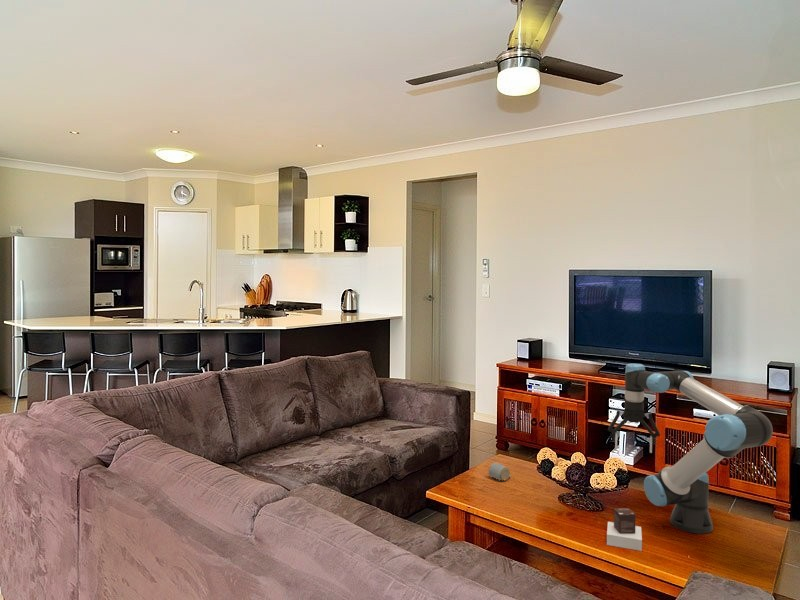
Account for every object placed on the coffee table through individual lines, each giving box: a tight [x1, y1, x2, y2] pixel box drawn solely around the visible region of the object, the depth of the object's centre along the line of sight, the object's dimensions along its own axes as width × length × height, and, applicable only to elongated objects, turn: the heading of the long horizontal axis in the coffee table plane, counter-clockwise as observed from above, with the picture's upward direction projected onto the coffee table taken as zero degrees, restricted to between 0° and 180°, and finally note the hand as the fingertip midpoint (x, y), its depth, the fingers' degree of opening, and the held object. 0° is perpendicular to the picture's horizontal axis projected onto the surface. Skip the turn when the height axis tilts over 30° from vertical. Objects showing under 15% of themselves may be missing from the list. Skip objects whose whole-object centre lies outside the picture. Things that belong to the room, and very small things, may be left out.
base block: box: [606, 521, 643, 552], centre depth 211 cm, size 12×12×4 cm
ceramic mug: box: [488, 461, 512, 481], centre depth 277 cm, size 11×8×8 cm
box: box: [613, 507, 637, 533], centre depth 211 cm, size 6×6×7 cm
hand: (633, 450), depth 237 cm, fingers open, 13 cm apart
